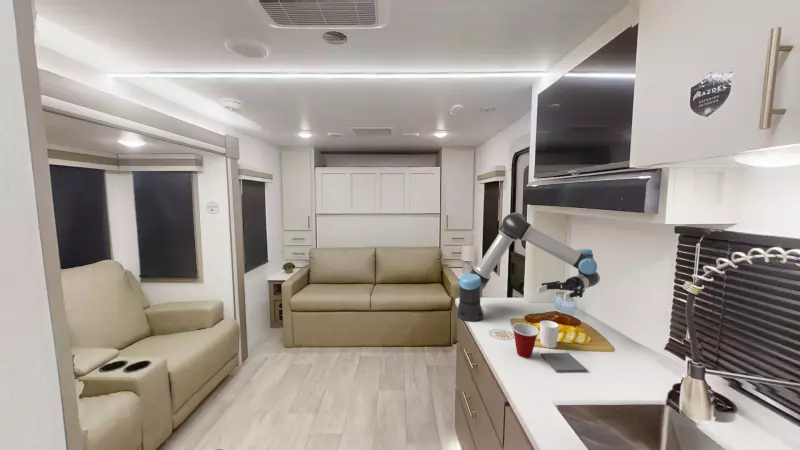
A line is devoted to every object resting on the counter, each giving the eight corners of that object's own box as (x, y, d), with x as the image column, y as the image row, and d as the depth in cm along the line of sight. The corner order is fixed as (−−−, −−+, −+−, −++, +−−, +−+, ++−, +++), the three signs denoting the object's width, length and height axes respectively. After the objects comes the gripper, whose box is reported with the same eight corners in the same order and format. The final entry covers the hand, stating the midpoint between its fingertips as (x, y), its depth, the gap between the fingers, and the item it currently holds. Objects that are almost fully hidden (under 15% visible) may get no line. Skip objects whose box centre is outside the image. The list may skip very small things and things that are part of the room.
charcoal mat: (540, 355, 134) (540, 353, 134) (568, 355, 134) (568, 352, 134) (556, 372, 121) (556, 369, 121) (586, 371, 122) (587, 369, 121)
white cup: (547, 350, 139) (548, 328, 138) (535, 342, 147) (535, 321, 146) (561, 347, 141) (562, 326, 140) (549, 340, 149) (549, 319, 148)
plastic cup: (520, 362, 128) (521, 334, 127) (506, 350, 139) (507, 324, 138) (543, 360, 130) (545, 332, 129) (528, 347, 141) (529, 322, 140)
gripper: (553, 272, 168) (527, 280, 157) (602, 281, 146) (576, 292, 136) (554, 285, 169) (528, 295, 158) (603, 296, 147) (577, 308, 137)
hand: (550, 293), depth 147 cm, fingers open, 13 cm apart
